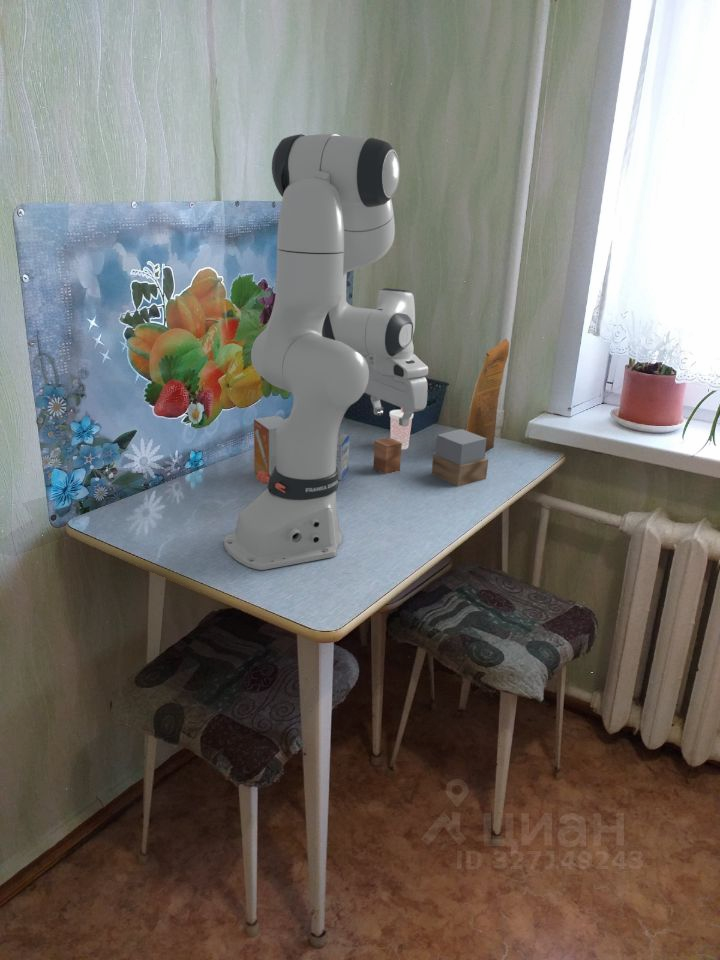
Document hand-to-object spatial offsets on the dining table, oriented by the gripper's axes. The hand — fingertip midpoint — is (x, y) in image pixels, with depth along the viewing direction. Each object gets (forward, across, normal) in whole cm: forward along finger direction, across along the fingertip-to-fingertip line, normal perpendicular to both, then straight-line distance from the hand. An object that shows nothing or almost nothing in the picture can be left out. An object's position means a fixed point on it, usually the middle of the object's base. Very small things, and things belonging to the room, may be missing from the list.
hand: (390, 420), depth 176 cm
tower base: (+13, +12, +11) cm, 21 cm away
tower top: (+8, +12, +11) cm, 18 cm away
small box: (+12, -10, -26) cm, 30 cm away
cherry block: (+12, 0, -1) cm, 12 cm away
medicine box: (+12, -4, -13) cm, 18 cm away
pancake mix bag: (+13, +2, +28) cm, 31 cm away
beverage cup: (+13, -11, +12) cm, 21 cm away
